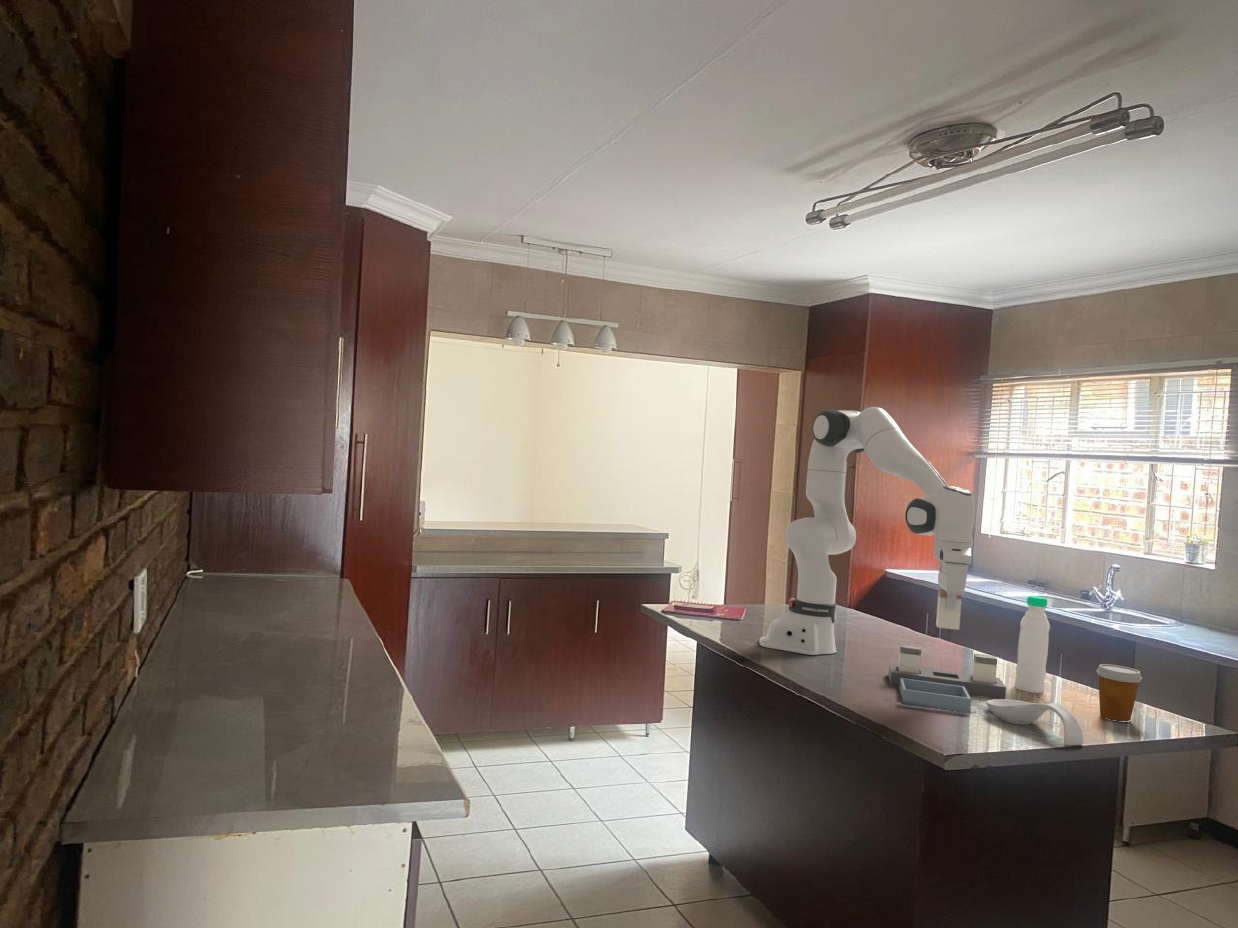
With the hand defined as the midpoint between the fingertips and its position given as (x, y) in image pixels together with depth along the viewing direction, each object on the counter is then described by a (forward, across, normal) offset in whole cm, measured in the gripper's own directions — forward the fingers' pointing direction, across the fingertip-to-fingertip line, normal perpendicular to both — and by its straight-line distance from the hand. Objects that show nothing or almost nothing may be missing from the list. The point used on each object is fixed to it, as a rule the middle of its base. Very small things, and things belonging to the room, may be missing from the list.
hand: (948, 608), depth 221 cm
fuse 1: (+21, -8, -8) cm, 23 cm away
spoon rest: (+23, +17, +17) cm, 33 cm away
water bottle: (+22, -18, +24) cm, 37 cm away
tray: (+22, +7, -3) cm, 23 cm away
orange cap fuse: (+5, 0, 0) cm, 5 cm away
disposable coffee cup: (+22, -2, +39) cm, 45 cm away
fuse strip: (+22, -7, +1) cm, 23 cm away
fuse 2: (+21, -7, +10) cm, 24 cm away
